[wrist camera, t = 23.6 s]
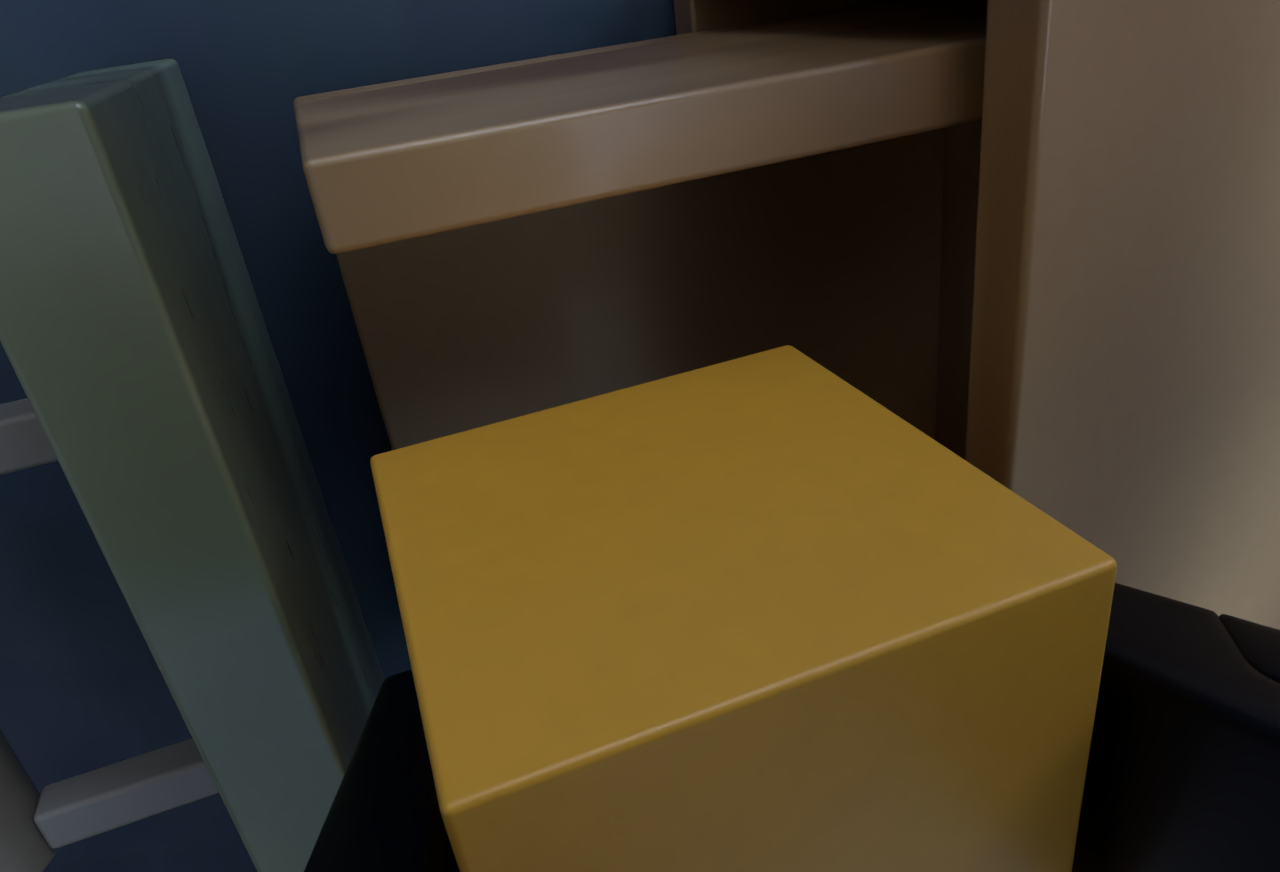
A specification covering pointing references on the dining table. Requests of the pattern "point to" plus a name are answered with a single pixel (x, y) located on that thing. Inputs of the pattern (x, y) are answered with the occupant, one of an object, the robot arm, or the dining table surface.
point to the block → (742, 636)
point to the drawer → (444, 328)
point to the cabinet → (1127, 280)
